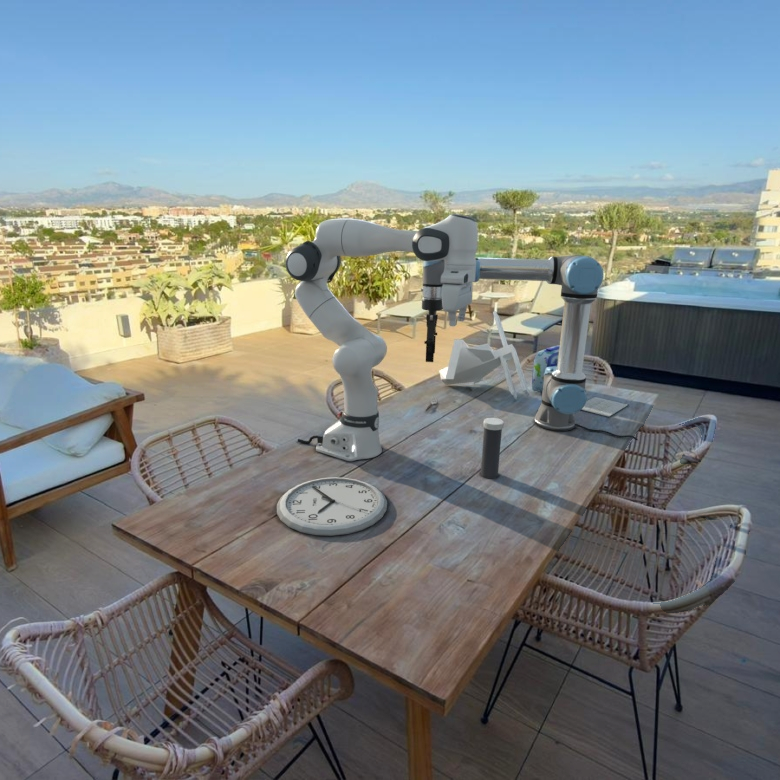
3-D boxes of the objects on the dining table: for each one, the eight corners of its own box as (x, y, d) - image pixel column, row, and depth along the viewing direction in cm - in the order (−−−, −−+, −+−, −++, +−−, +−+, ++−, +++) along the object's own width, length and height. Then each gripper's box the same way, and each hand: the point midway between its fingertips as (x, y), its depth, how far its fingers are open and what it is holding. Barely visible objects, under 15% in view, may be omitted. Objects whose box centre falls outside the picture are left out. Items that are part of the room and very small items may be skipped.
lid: (488, 431, 154) (489, 425, 153) (479, 424, 160) (480, 418, 159) (506, 429, 156) (507, 423, 155) (497, 422, 161) (497, 416, 161)
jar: (485, 479, 159) (489, 426, 154) (477, 471, 164) (481, 420, 159) (500, 477, 161) (505, 424, 156) (492, 469, 165) (497, 418, 160)
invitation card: (608, 416, 214) (573, 407, 224) (608, 416, 214) (573, 408, 224) (628, 404, 229) (594, 396, 238) (628, 405, 229) (594, 397, 238)
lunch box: (548, 398, 236) (553, 353, 229) (527, 393, 243) (531, 349, 237) (575, 387, 253) (581, 344, 247) (555, 382, 260) (560, 341, 254)
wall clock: (392, 527, 129) (268, 531, 127) (391, 533, 130) (269, 537, 127) (383, 473, 158) (282, 475, 155) (383, 478, 158) (282, 480, 156)
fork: (422, 411, 216) (422, 407, 215) (433, 400, 230) (433, 396, 230) (428, 412, 215) (429, 407, 215) (438, 401, 230) (439, 396, 229)
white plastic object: (461, 429, 252) (437, 405, 227) (444, 352, 274) (420, 323, 250) (535, 404, 240) (518, 377, 215) (510, 326, 262) (492, 293, 237)
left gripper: (458, 271, 158) (456, 317, 162) (438, 277, 140) (436, 328, 144) (478, 272, 156) (476, 318, 160) (461, 278, 138) (458, 330, 142)
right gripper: (424, 293, 195) (422, 349, 202) (419, 302, 172) (417, 365, 178) (444, 294, 195) (441, 350, 201) (442, 303, 171) (439, 366, 177)
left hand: (457, 323), depth 152 cm, fingers open, 8 cm apart
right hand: (430, 357), depth 190 cm, fingers open, 13 cm apart
